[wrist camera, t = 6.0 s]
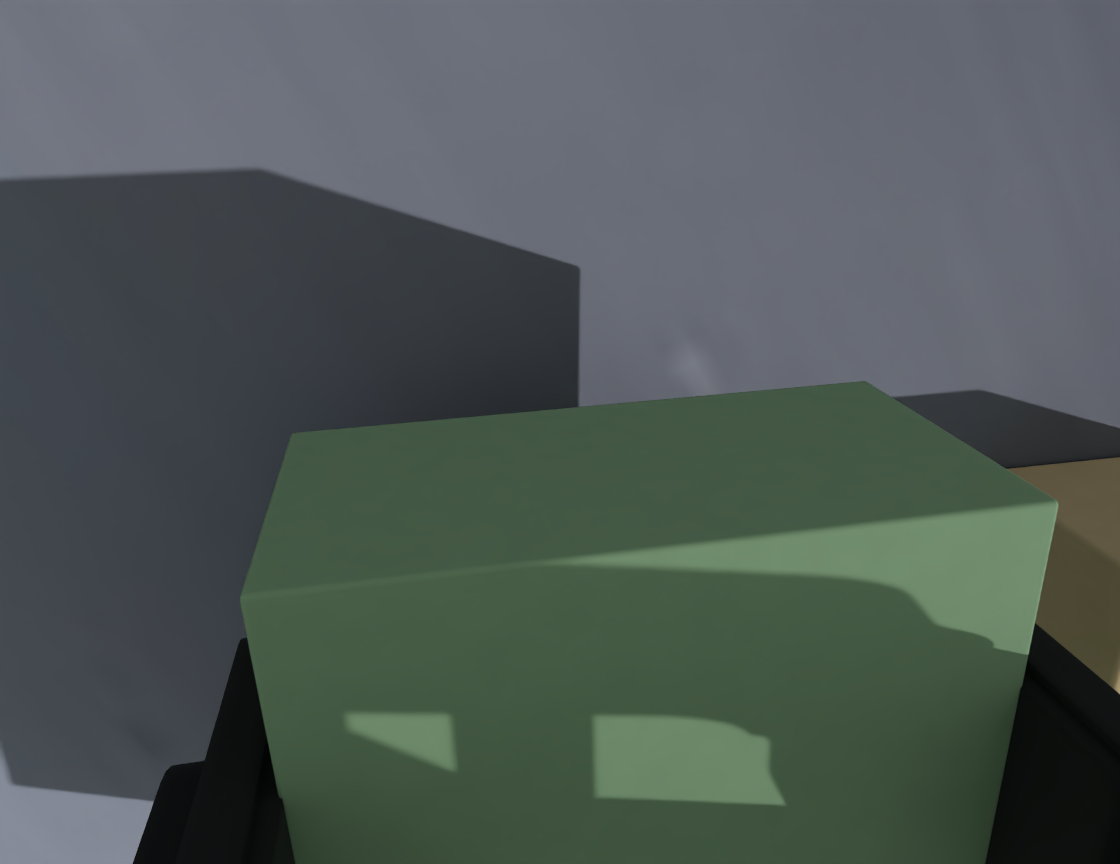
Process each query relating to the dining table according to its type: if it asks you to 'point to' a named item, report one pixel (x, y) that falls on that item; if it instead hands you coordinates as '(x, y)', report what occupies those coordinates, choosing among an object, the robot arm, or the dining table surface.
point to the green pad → (645, 634)
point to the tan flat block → (1083, 561)
